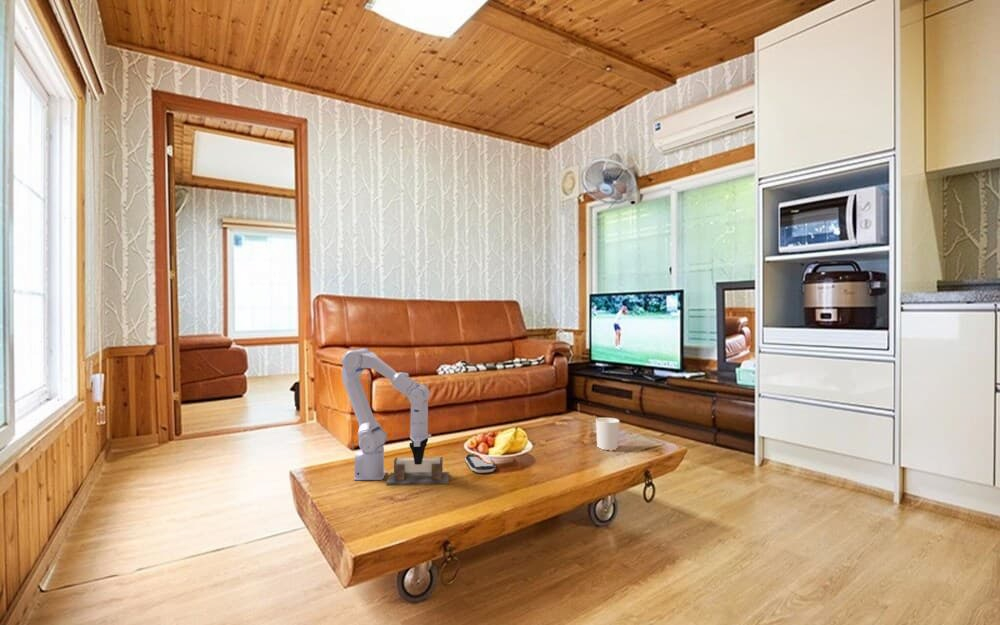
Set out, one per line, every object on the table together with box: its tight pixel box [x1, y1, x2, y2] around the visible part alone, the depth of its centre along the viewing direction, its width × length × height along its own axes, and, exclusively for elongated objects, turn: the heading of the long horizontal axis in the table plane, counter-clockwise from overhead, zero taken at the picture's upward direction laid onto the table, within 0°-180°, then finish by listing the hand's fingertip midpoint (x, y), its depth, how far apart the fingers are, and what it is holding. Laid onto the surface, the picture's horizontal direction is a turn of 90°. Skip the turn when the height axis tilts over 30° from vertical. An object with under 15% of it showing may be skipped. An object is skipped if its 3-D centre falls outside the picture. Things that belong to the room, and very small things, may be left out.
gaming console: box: [464, 453, 497, 475], centre depth 175 cm, size 19×9×2 cm, turn 15°
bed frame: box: [385, 464, 450, 486], centre depth 159 cm, size 20×9×6 cm, turn 94°
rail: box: [393, 456, 444, 473], centre depth 159 cm, size 16×3×4 cm, turn 94°
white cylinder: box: [595, 416, 621, 450], centre depth 198 cm, size 10×10×12 cm
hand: (418, 462), depth 159 cm, fingers open, 3 cm apart
